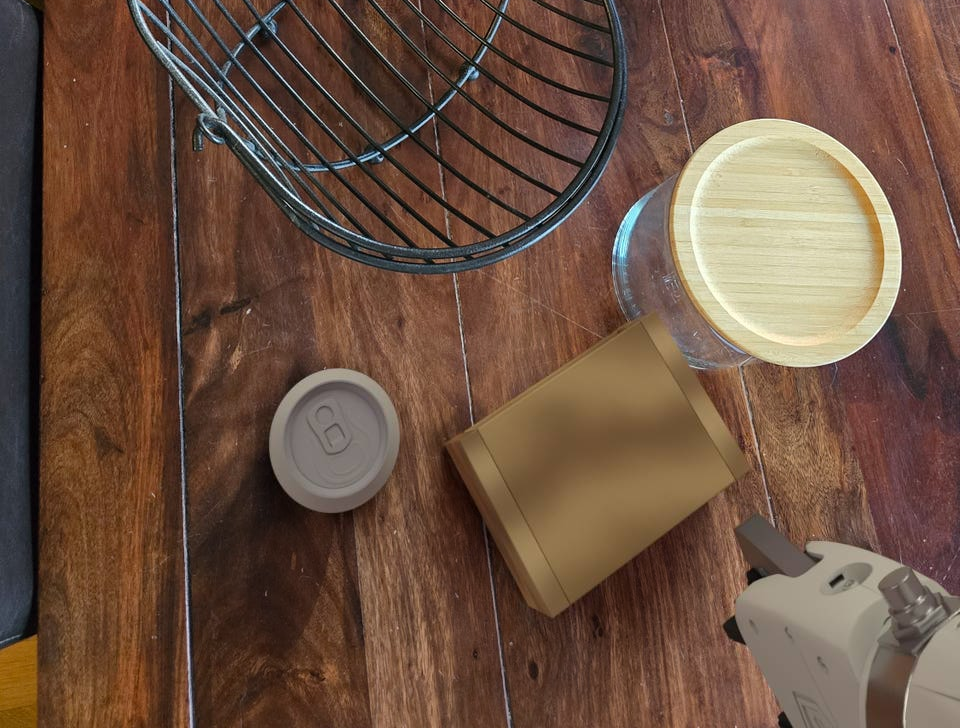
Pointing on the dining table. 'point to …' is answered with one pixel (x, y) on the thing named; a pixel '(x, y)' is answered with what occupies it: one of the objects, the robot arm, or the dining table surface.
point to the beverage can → (334, 440)
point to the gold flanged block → (596, 462)
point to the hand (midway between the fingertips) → (778, 658)
